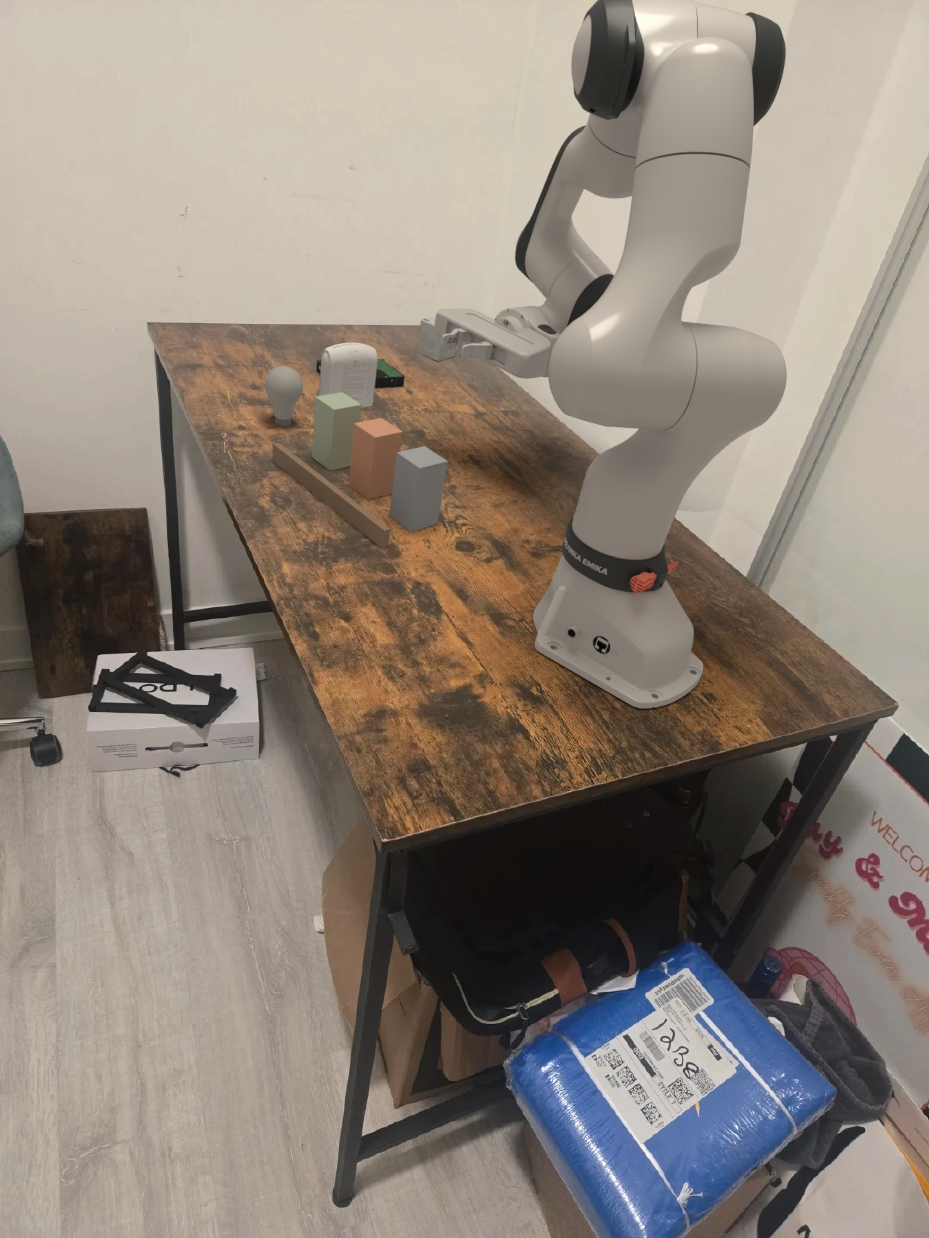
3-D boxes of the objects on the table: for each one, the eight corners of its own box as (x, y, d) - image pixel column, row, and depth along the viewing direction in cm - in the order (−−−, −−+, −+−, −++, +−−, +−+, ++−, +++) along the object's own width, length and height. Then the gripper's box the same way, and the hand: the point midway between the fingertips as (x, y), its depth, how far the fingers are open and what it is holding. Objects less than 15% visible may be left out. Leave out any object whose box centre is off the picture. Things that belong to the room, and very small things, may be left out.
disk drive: (336, 394, 151) (404, 389, 159) (337, 380, 150) (406, 375, 157) (315, 373, 158) (381, 369, 165) (315, 359, 156) (382, 356, 163)
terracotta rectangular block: (395, 493, 120) (402, 431, 114) (368, 500, 117) (374, 437, 111) (375, 478, 122) (381, 418, 116) (348, 485, 119) (353, 423, 113)
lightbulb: (287, 420, 137) (289, 358, 131) (308, 434, 134) (311, 371, 127) (257, 426, 133) (257, 363, 127) (277, 441, 130) (279, 376, 124)
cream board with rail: (475, 526, 118) (480, 501, 116) (373, 559, 107) (376, 533, 104) (364, 448, 133) (366, 425, 131) (264, 470, 122) (265, 445, 119)
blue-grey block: (437, 523, 114) (447, 461, 108) (410, 532, 111) (419, 468, 105) (415, 508, 117) (424, 446, 111) (389, 515, 114) (396, 452, 108)
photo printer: (365, 404, 148) (370, 338, 141) (375, 413, 146) (382, 346, 138) (314, 408, 143) (318, 340, 136) (324, 418, 140) (329, 349, 133)
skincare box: (454, 357, 177) (459, 324, 173) (436, 362, 173) (441, 328, 169) (434, 348, 180) (438, 315, 175) (416, 352, 176) (420, 319, 171)
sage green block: (356, 464, 125) (361, 404, 119) (330, 470, 122) (334, 409, 116) (338, 451, 128) (342, 392, 122) (311, 457, 125) (315, 396, 119)
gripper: (476, 295, 127) (409, 301, 118) (569, 339, 116) (503, 349, 107) (470, 335, 130) (405, 343, 122) (559, 381, 120) (495, 393, 111)
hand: (451, 346), depth 115 cm, fingers open, 2 cm apart
